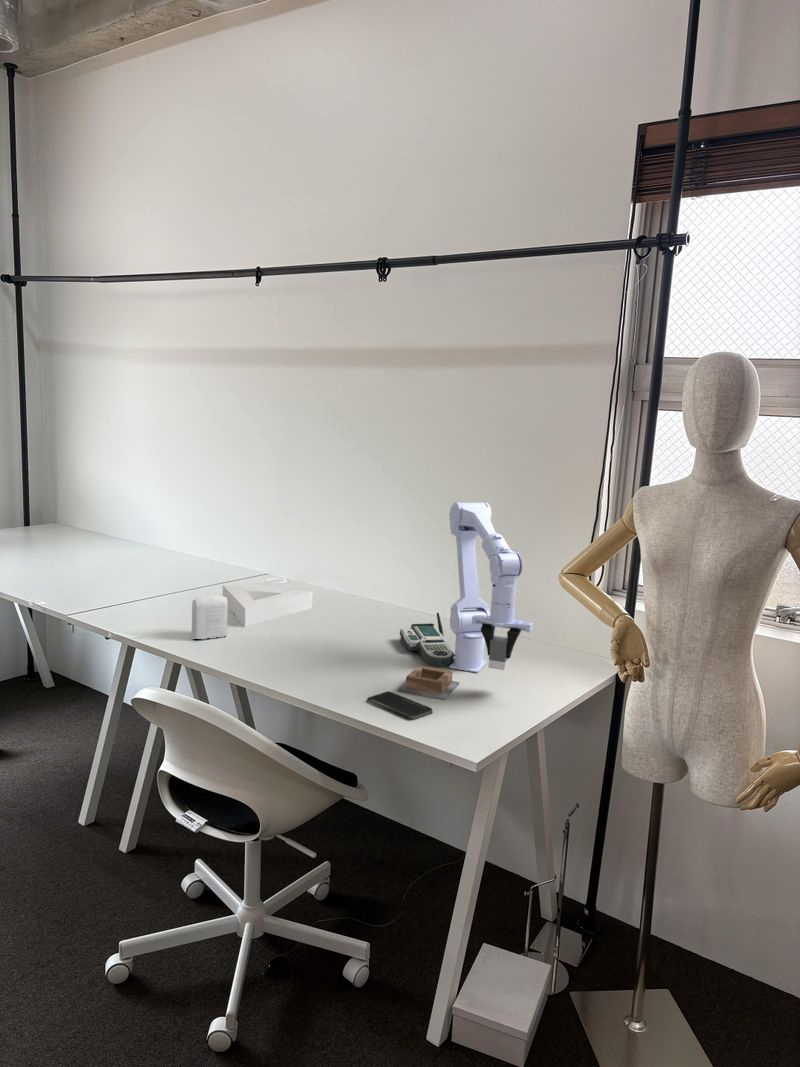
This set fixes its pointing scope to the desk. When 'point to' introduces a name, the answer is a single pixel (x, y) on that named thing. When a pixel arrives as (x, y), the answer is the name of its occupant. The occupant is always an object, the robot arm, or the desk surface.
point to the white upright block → (209, 617)
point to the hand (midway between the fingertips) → (499, 655)
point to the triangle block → (265, 602)
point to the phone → (400, 705)
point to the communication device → (428, 643)
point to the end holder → (429, 683)
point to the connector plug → (498, 653)
